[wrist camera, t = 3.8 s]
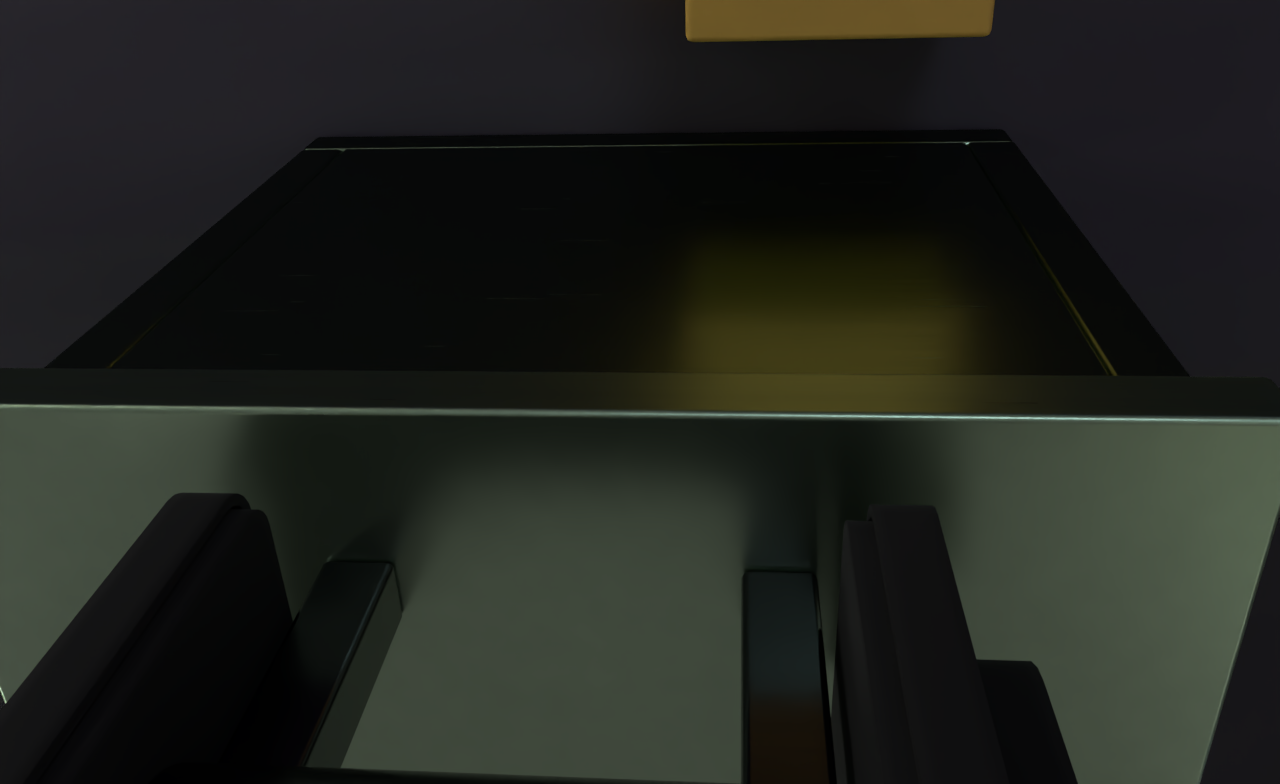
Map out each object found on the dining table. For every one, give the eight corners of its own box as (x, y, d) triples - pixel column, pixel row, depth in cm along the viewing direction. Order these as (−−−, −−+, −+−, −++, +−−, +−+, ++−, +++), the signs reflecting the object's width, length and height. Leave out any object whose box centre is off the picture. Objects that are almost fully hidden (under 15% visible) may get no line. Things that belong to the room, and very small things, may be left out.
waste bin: (316, 135, 21) (-38, 432, 11) (1005, 127, 20) (1247, 448, 10) (423, 739, 28) (263, 1220, 19) (925, 758, 27) (1023, 1277, 18)
